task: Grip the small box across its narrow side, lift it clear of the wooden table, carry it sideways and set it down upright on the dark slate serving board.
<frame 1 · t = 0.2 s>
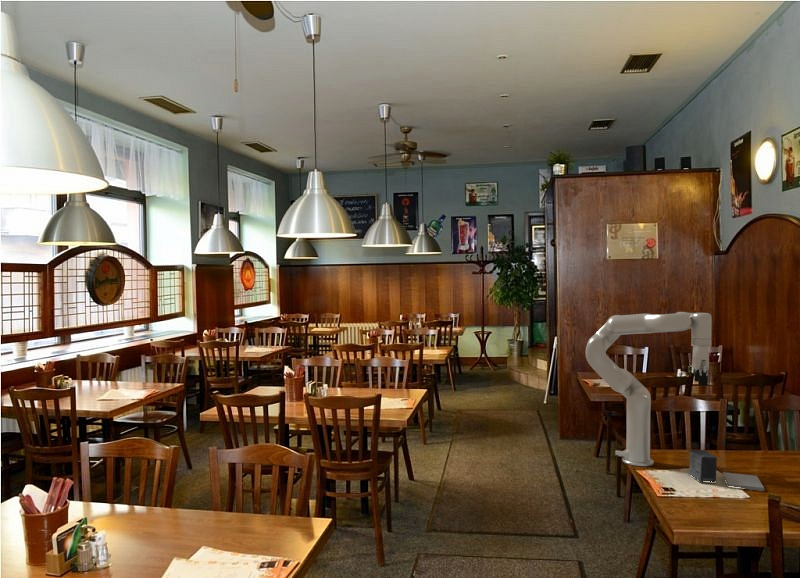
hand: (701, 383, 254), 36 cm above the table, tool pointing down, fingers open, 9 cm apart
slate board: (742, 483, 237), on the table
small box: (702, 479, 243), on the table
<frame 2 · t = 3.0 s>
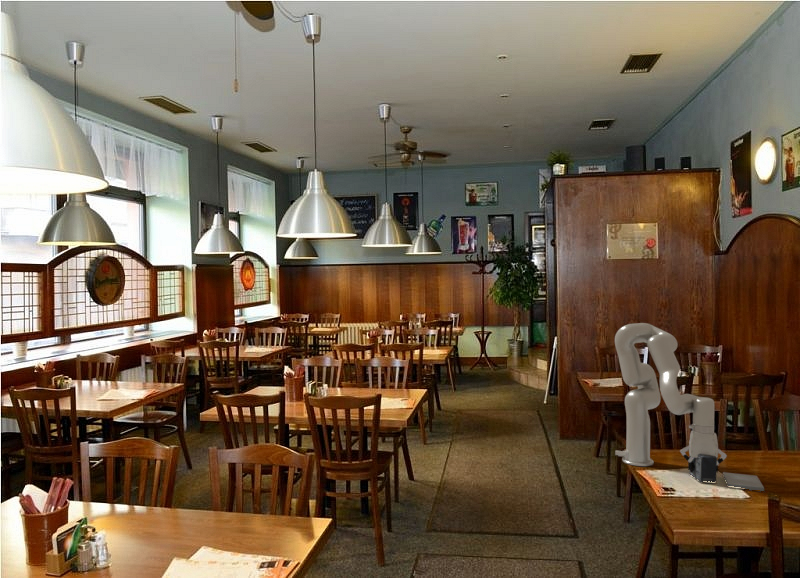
hand: (702, 472, 242), 3 cm above the table, tool pointing down, fingers closed on small box, 7 cm apart
small box: (702, 479, 243), on the table, touching gripper
when the fingers open (5 cm above the table, at t = 9.2 s): small box drops 1 cm, resting on slate board.
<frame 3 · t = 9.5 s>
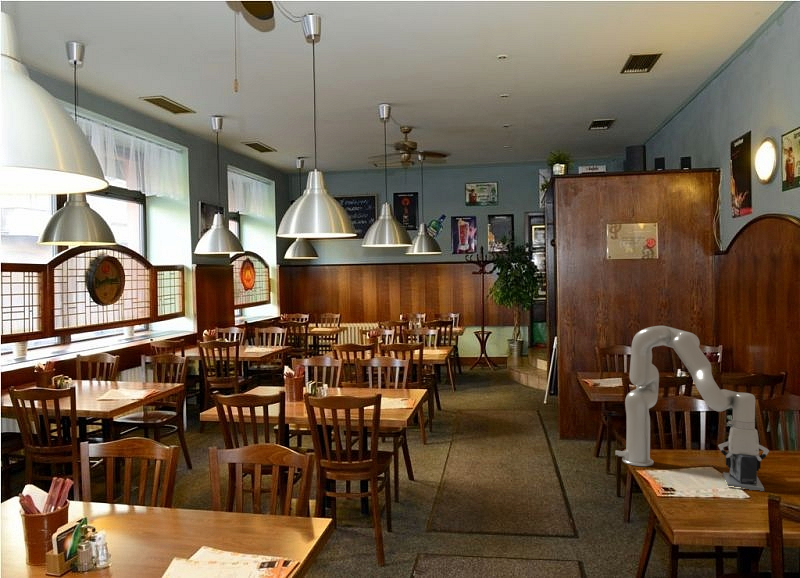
hand: (742, 468, 237), 6 cm above the table, tool pointing down, fingers open, 9 cm apart
small box: (743, 480, 238), point 1 cm above the table, touching slate board
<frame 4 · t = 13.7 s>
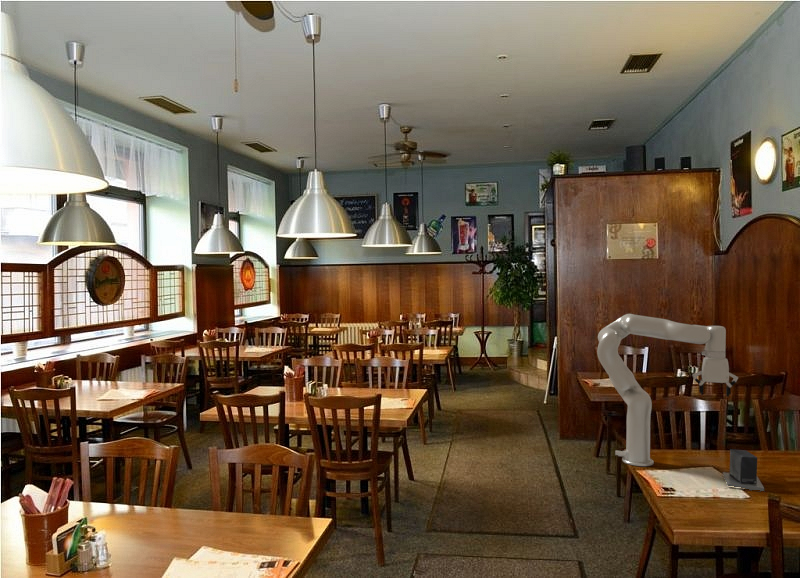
hand: (714, 395, 258), 30 cm above the table, tool pointing down, fingers open, 9 cm apart
nothing on the table moved.
at the end: small box 0.3 cm off-centre on the slate board, point 1.3 cm above the slate board's base; small box tilted 0°; the gripper is holding nothing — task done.
